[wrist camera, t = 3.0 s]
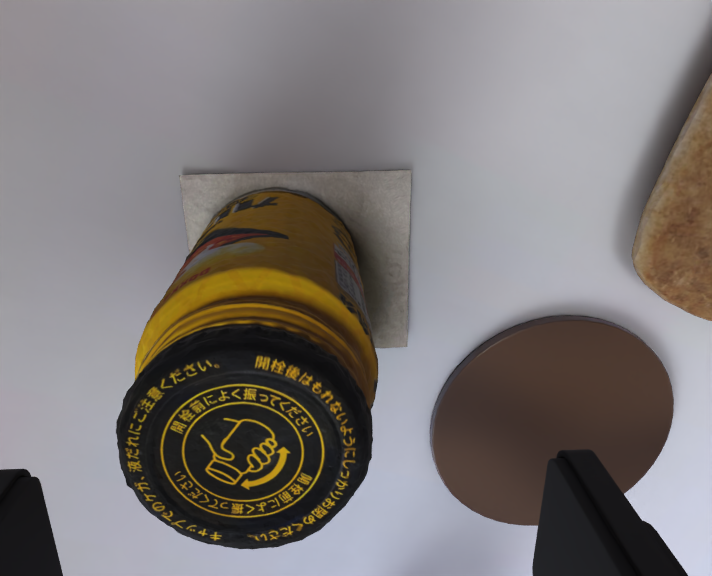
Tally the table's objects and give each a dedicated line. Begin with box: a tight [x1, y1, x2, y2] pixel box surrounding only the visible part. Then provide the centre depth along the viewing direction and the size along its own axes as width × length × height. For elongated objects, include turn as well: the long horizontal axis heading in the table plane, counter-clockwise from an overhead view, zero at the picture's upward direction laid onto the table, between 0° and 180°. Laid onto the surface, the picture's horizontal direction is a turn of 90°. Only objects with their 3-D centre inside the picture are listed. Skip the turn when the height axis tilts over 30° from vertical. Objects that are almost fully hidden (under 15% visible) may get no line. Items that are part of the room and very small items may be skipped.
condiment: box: [116, 170, 411, 549], centre depth 17 cm, size 7×8×12 cm
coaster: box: [430, 316, 674, 525], centre depth 26 cm, size 11×11×1 cm
